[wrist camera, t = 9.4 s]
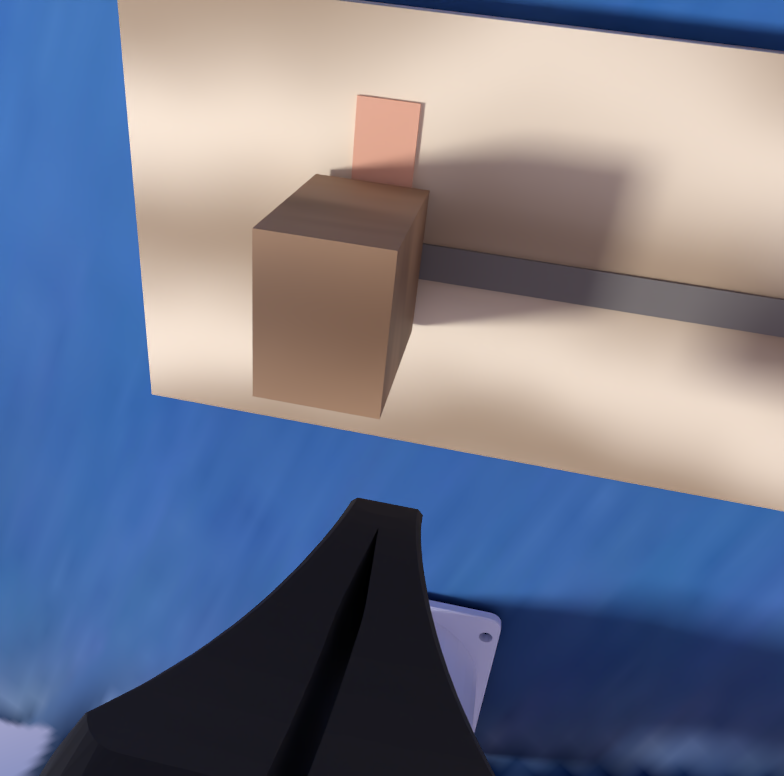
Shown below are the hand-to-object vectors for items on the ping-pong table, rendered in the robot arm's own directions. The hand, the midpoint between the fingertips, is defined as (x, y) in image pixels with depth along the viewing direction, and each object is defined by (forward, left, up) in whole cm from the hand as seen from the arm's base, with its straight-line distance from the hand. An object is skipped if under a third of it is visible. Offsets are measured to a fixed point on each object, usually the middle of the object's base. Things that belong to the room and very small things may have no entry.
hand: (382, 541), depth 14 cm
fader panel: (+3, -5, -9) cm, 11 cm away
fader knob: (+3, +2, -8) cm, 8 cm away
